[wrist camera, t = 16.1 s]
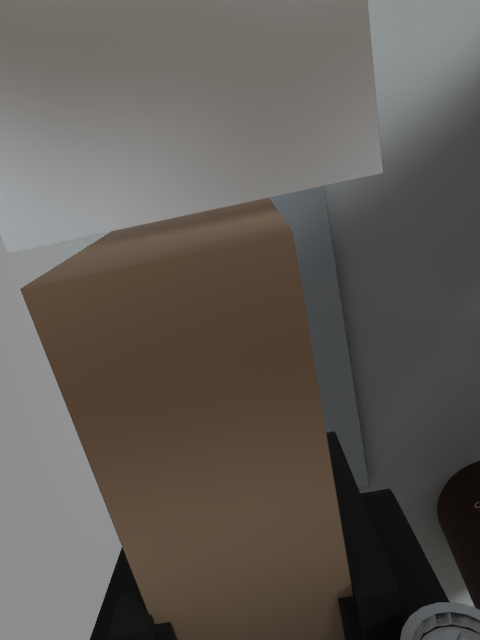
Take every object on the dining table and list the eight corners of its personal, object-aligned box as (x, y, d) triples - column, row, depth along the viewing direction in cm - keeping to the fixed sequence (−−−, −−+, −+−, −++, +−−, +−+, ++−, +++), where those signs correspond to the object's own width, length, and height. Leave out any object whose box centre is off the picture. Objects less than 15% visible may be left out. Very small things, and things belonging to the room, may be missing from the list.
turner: (-138, -205, 6) (-805, -838, 2) (317, -338, 5) (492, -1417, 2) (217, 744, 13) (208, 983, 9) (424, 717, 13) (502, 955, 9)
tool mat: (99, 48, 21) (96, 44, 20) (293, 1, 20) (294, -3, 19) (217, 507, 27) (216, 512, 26) (367, 481, 26) (369, 486, 26)
